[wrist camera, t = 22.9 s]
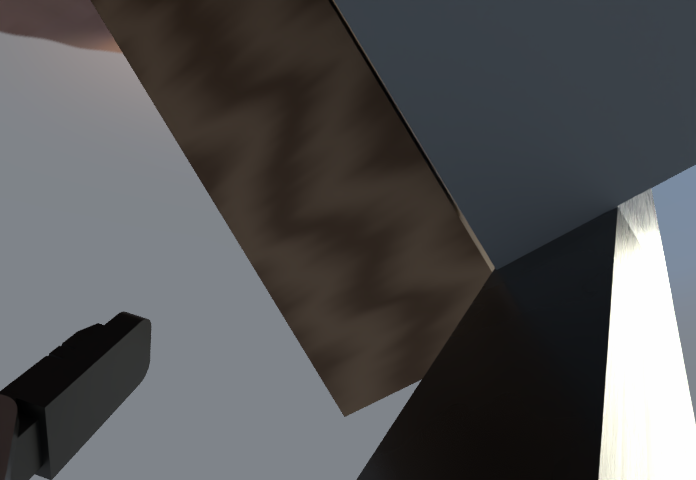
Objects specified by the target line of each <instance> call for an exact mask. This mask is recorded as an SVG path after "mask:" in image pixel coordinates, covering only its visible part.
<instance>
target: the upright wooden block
mask: <svg viewBox="0 0 696 480" xmlns="http://www.w3.org/2000/svg"><path fill="white" fill-rule="evenodd" d="M91 2H92V3H93V5H94V6H95V8H96V10H97V11H98V13H99V15H100V16H101V18H102V20H103V21H104V23H105V25H106V26H107V28H108V29H109V31H110V33H111V34H112V36H113V38H114V39H115V41H116V43H117V44H118V46H119V48H120V49H121V51H122V52H123V54H124V56H125V57H126V59H127V61H128V62H129V64H130V66H131V67H132V69H133V70H134V72H135V74H136V75H137V77H138V79H139V80H140V82H141V84H142V85H143V87H144V88H145V90H146V92H147V93H148V95H149V97H150V98H151V100H152V102H153V103H154V105H155V106H156V108H157V110H158V112H159V113H160V115H161V116H162V118H163V120H164V121H165V123H166V125H167V126H168V128H169V129H170V131H171V133H172V134H173V136H174V138H175V139H176V141H177V143H178V144H179V146H180V148H181V149H182V151H183V153H184V154H185V156H186V157H187V159H188V161H189V162H190V164H191V166H192V167H193V169H194V171H195V172H196V174H197V176H198V177H199V179H200V180H201V182H202V184H203V185H204V187H205V189H206V190H207V192H208V193H209V195H210V197H211V198H212V200H213V202H214V203H215V205H216V206H217V208H218V210H219V212H220V213H221V215H222V216H223V218H224V220H225V221H226V223H227V224H228V226H229V228H230V230H231V231H232V233H233V234H234V236H235V238H236V239H237V241H238V243H239V244H240V246H241V248H242V249H243V251H244V253H245V254H246V256H247V258H248V259H249V261H250V262H251V264H252V266H253V267H254V269H255V270H256V272H257V274H258V276H259V277H260V279H261V281H262V282H263V284H264V285H265V287H266V289H267V290H268V292H269V294H270V295H271V297H272V299H273V300H274V302H275V304H276V305H277V307H278V308H279V310H280V312H281V313H282V315H283V317H284V318H285V320H286V322H287V323H288V325H289V326H290V328H291V330H292V331H293V333H294V335H295V336H296V338H297V340H298V341H299V343H300V345H301V346H302V348H303V350H304V351H305V353H306V354H307V356H308V358H309V359H310V361H311V362H312V364H313V366H314V368H315V369H316V371H317V372H318V374H319V376H320V377H321V379H322V381H323V382H324V384H325V386H326V387H327V389H328V390H329V392H330V394H331V395H332V397H333V399H334V400H335V402H336V404H337V405H338V407H339V408H340V410H341V412H342V414H343V415H344V417H345V416H347V415H349V414H352V413H353V412H356V411H358V410H360V409H362V408H364V407H366V406H368V405H370V404H372V403H374V402H376V401H378V400H380V399H382V398H384V397H386V396H388V395H390V394H392V393H394V392H397V391H399V390H401V389H403V388H405V387H407V386H409V385H411V384H413V383H415V382H417V381H419V380H421V379H423V377H424V376H425V374H426V373H427V371H428V370H429V368H430V367H431V365H432V363H433V362H434V360H435V359H436V357H437V356H438V354H439V353H440V351H441V350H442V348H443V347H444V345H445V344H446V342H447V341H448V339H449V337H450V336H451V334H452V333H453V331H454V330H455V328H456V327H457V325H458V324H459V322H460V321H461V319H462V318H463V316H464V314H465V313H466V311H467V310H468V308H469V307H470V305H471V304H472V302H473V301H474V299H475V298H476V296H477V295H478V293H479V292H480V290H481V288H482V287H483V285H484V284H485V282H486V281H487V279H488V278H489V276H490V275H491V273H492V272H493V270H494V269H495V267H494V265H493V264H492V262H491V260H490V259H489V257H488V255H487V254H486V252H485V250H484V249H483V247H482V245H481V244H480V242H479V241H478V239H477V237H476V236H475V234H474V232H473V231H472V229H471V227H470V226H469V224H468V222H467V221H466V219H465V217H464V216H463V214H462V212H461V211H460V209H459V207H458V206H457V204H456V202H455V201H454V199H453V197H452V196H451V194H450V192H449V191H448V189H447V187H446V186H445V184H444V182H443V181H442V179H441V177H440V176H439V174H438V172H437V171H436V169H435V167H434V166H433V164H432V163H431V161H430V159H429V158H428V156H427V154H426V153H425V151H424V149H423V148H422V146H421V144H420V143H419V141H418V139H417V138H416V136H415V134H414V133H413V131H412V129H411V128H410V126H409V124H408V123H407V121H406V119H405V118H404V116H403V114H402V113H401V111H400V109H399V108H398V106H397V104H396V103H395V101H394V99H393V98H392V96H391V94H390V93H389V91H388V90H387V88H386V86H385V85H384V83H383V81H382V80H381V78H380V76H379V75H378V73H377V71H376V70H375V68H374V66H373V65H372V63H371V61H370V60H369V58H368V56H367V55H366V53H365V51H364V50H363V48H362V46H361V45H360V43H359V41H358V40H357V38H356V36H355V35H354V33H353V31H352V30H351V28H350V26H349V25H348V23H347V21H346V20H345V18H344V17H343V15H342V13H341V12H340V10H339V8H338V7H337V5H336V3H335V2H334V0H91Z"/></svg>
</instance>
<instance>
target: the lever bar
mask: <svg viewBox="0 0 696 480" xmlns="http://www.w3.org/2000/svg"><path fill="white" fill-rule="evenodd" d="M357 480H696V425H695V420H694V414H693V409H692V403H691V398H690V393H689V387H688V382H687V376H686V371H685V366H684V360H683V355H682V350H681V344H680V339H679V334H678V328H677V323H676V318H675V313H674V307H673V302H672V296H671V291H670V286H669V281H668V275H667V270H666V264H665V259H664V254H663V248H662V243H661V238H660V232H659V227H658V222H657V217H656V211H655V206H654V200H653V195H652V190H651V188H650V189H649V190H647V191H645V192H643V193H641V194H639V195H637V196H635V197H633V198H632V199H630V200H628V201H626V202H624V203H622V204H620V205H618V206H616V207H615V208H613V209H611V210H609V211H607V212H605V213H603V214H601V215H600V216H598V217H596V218H594V219H592V220H590V221H588V222H586V223H584V224H583V225H581V226H579V227H577V228H575V229H573V230H571V231H569V232H567V233H566V234H564V235H562V236H560V237H558V238H556V239H554V240H552V241H550V242H549V243H547V244H545V245H543V246H541V247H539V248H537V249H535V250H534V251H532V252H530V253H528V254H526V255H524V256H522V257H520V258H518V259H517V260H515V261H513V262H511V263H509V264H507V265H505V266H503V267H501V268H500V269H498V270H496V269H494V270H493V272H492V273H491V275H490V276H489V278H488V279H487V281H486V282H485V284H484V285H483V287H482V288H481V290H480V292H479V293H478V295H477V296H476V298H475V299H474V301H473V302H472V304H471V305H470V307H469V308H468V310H467V311H466V313H465V314H464V316H463V318H462V319H461V321H460V322H459V324H458V325H457V327H456V328H455V330H454V331H453V333H452V334H451V336H450V337H449V339H448V341H447V342H446V344H445V345H444V347H443V348H442V350H441V351H440V353H439V354H438V356H437V357H436V359H435V360H434V362H433V363H432V365H431V367H430V368H429V370H428V371H427V373H426V374H425V376H424V377H423V379H422V380H421V382H420V383H419V385H418V386H417V388H416V389H415V391H414V393H413V394H412V396H411V397H410V399H409V400H408V402H407V403H406V405H405V406H404V408H403V409H402V411H401V412H400V414H399V416H398V417H397V419H396V420H395V422H394V423H393V425H392V426H391V428H390V429H389V431H388V432H387V434H386V436H385V437H384V438H383V440H382V442H381V443H380V445H379V446H378V448H377V449H376V451H375V453H374V454H373V455H372V457H371V458H370V460H369V461H368V463H367V464H366V466H365V468H364V469H363V471H362V472H361V474H360V475H359V477H358V478H357Z"/></svg>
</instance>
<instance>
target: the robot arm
mask: <svg viewBox="0 0 696 480" xmlns="http://www.w3.org/2000/svg"><path fill="white" fill-rule="evenodd" d="M150 343H151V322H150V320H149V319H145V318H143V317H139V316H136V315H133V314H130V313H127V312H121V313H119V314H118V315H116V316H115V317H114V318H113V319H111V320H110V321H109V322H108V323H106V324H105V325H102V324H99V323H98V324H95V325H93V326H90V327H88V328H85V329H83V330H80V331H78V332H76V333H75V334H74V335H73V336H71V337H70V338H69V339H67V340H66V341H65V342H64V343H63V344H62V346H58V347H57V348H56V349H55V350H53V351H52V352H51V353H49V356H46V357H44V358H43V359H41V360H40V361H39V362H38V363H36V364H35V365H34V366H33V367H31V368H30V369H28V370H27V371H26V372H25V373H23V374H22V375H21V376H20V377H18V378H17V379H16V380H14V381H13V382H12V383H10V384H9V385H8V386H6V387H5V388H4V389H3V390H1V391H0V480H29V479H30V478H31V477H32V476H33V475H34V474H36V475H39V476H42V477H44V478H47V479H50V480H52V479H53V478H54V477H55V476H56V475H57V474H58V472H59V471H60V470H61V469H62V468H63V467H64V466H65V465H66V464H67V462H69V460H70V459H71V458H72V457H73V456H74V455H75V454H76V453H77V452H78V451H79V449H80V448H81V447H82V446H83V445H84V444H85V443H86V442H87V441H88V440H89V439H90V438H91V436H92V435H93V434H94V433H95V432H96V431H97V430H98V429H99V428H100V427H101V426H102V424H103V423H104V422H105V421H106V420H107V419H108V418H109V417H110V415H112V413H113V412H114V411H115V410H116V409H117V408H118V407H119V406H120V405H121V404H122V403H123V402H124V401H125V399H126V398H127V397H128V396H129V395H130V394H131V393H132V392H133V391H134V390H135V389H136V387H137V386H138V385H139V384H140V383H141V382H142V380H143V379H144V377H145V375H146V373H147V370H148V368H149V363H150Z"/></svg>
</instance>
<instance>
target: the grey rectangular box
mask: <svg viewBox="0 0 696 480" xmlns="http://www.w3.org/2000/svg"><path fill="white" fill-rule="evenodd" d="M334 2H335V3H336V5H337V7H338V8H339V10H340V12H341V13H342V15H343V17H344V18H345V20H346V21H347V23H348V25H349V26H350V28H351V30H352V31H353V33H354V35H355V36H356V38H357V40H358V41H359V43H360V45H361V46H362V48H363V50H364V51H365V53H366V55H367V56H368V58H369V60H370V61H371V63H372V65H373V66H374V68H375V70H376V71H377V73H378V75H379V76H380V78H381V80H382V81H383V83H384V85H385V86H386V88H387V90H388V91H389V93H390V94H391V96H392V98H393V99H394V101H395V103H396V104H397V106H398V108H399V109H400V111H401V113H402V114H403V116H404V118H405V119H406V121H407V123H408V124H409V126H410V128H411V129H412V131H413V133H414V134H415V136H416V138H417V139H418V141H419V143H420V144H421V146H422V148H423V149H424V151H425V153H426V154H427V156H428V158H429V159H430V161H431V163H432V164H433V166H434V167H435V169H436V171H437V172H438V174H439V176H440V177H441V179H442V181H443V182H444V184H445V186H446V187H447V189H448V191H449V192H450V194H451V196H452V197H453V199H454V201H455V202H456V204H457V206H458V207H459V209H460V211H461V212H462V214H463V216H464V217H465V219H466V221H467V222H468V224H469V226H470V227H471V229H472V231H473V232H474V234H475V236H476V237H477V239H478V241H479V242H480V244H481V245H482V247H483V249H484V250H485V252H486V254H487V255H488V257H489V259H490V260H491V262H492V264H493V265H494V267H495V269H496V270H498V269H500V268H501V267H503V266H505V265H507V264H509V263H511V262H513V261H515V260H517V259H518V258H520V257H522V256H524V255H526V254H528V253H530V252H532V251H534V250H535V249H537V248H539V247H541V246H543V245H545V244H547V243H549V242H550V241H552V240H554V239H556V238H558V237H560V236H562V235H564V234H566V233H567V232H569V231H571V230H573V229H575V228H577V227H579V226H581V225H583V224H584V223H586V222H588V221H590V220H592V219H594V218H596V217H598V216H600V215H601V214H603V213H605V212H607V211H609V210H611V209H613V208H615V207H616V206H618V205H620V204H622V203H624V202H626V201H628V200H630V199H632V198H633V197H635V196H637V195H639V194H641V193H643V192H645V191H647V190H649V189H650V188H652V187H654V186H656V185H658V184H660V183H662V182H663V181H666V180H667V179H669V178H671V177H673V176H675V175H677V174H679V173H681V172H682V171H684V170H686V169H688V168H690V167H692V166H694V165H696V0H334Z"/></svg>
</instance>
